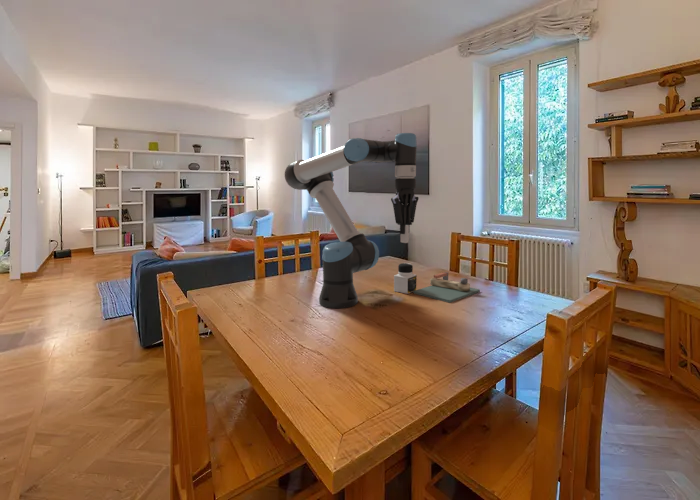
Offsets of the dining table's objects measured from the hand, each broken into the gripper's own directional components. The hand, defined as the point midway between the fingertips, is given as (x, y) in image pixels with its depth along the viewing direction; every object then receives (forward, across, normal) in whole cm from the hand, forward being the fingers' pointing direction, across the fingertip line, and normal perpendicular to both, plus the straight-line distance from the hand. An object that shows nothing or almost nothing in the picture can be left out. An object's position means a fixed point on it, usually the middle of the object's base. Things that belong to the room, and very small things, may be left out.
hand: (404, 242), depth 142 cm
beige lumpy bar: (+23, +30, 0) cm, 38 cm away
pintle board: (+24, +26, -1) cm, 36 cm away
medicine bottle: (+25, +16, +13) cm, 32 cm away
